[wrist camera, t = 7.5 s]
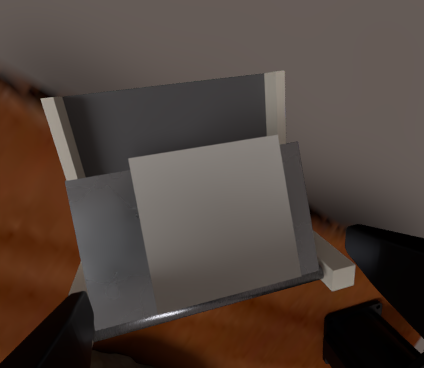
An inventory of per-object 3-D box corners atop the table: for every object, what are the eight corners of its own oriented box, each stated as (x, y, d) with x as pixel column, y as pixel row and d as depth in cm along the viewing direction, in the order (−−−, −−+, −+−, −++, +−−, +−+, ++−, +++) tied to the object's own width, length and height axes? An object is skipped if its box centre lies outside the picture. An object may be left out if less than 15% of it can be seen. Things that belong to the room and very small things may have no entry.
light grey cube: (253, 244, 14) (301, 276, 9) (159, 266, 13) (158, 314, 8) (237, 151, 14) (277, 134, 9) (140, 167, 13) (128, 158, 8)
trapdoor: (315, 275, 16) (325, 281, 15) (97, 335, 14) (93, 346, 13) (293, 143, 16) (301, 140, 15) (66, 181, 13) (59, 182, 12)
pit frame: (287, 237, 23) (352, 302, 16) (94, 283, 20) (66, 389, 13) (284, 71, 18) (373, 57, 11) (34, 100, 16) (-61, 106, 8)
